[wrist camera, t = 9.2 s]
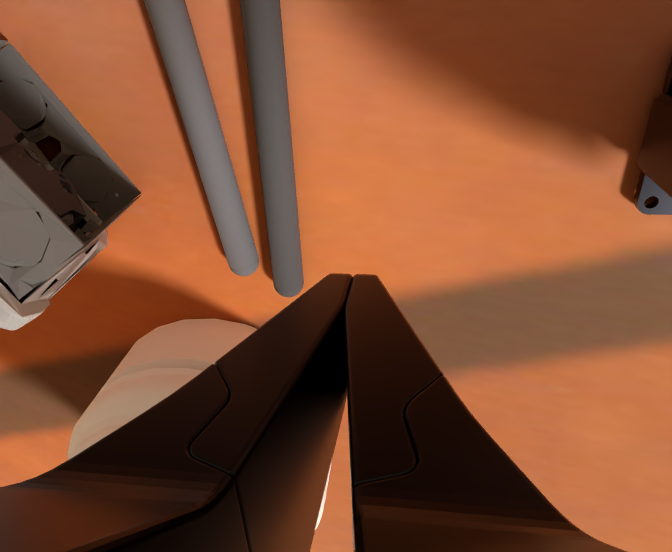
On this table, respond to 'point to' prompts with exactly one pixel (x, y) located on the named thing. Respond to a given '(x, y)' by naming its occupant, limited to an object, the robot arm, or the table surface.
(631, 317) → the table surface
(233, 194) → the cord
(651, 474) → the table surface
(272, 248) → the cord
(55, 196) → the electrical switch
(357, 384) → the robot arm
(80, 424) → the honey pot
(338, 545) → the table surface
